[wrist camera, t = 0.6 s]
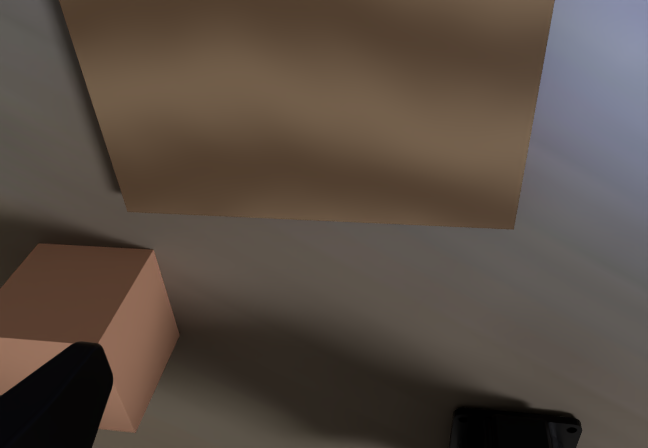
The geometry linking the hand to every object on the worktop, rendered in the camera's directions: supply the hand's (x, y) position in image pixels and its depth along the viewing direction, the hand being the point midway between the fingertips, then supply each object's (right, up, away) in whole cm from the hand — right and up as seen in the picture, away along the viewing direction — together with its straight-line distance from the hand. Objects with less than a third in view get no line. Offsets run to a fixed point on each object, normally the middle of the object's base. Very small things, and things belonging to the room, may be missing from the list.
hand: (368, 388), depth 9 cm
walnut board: (-2, +10, +10) cm, 14 cm away
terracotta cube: (-12, -1, +21) cm, 24 cm away
